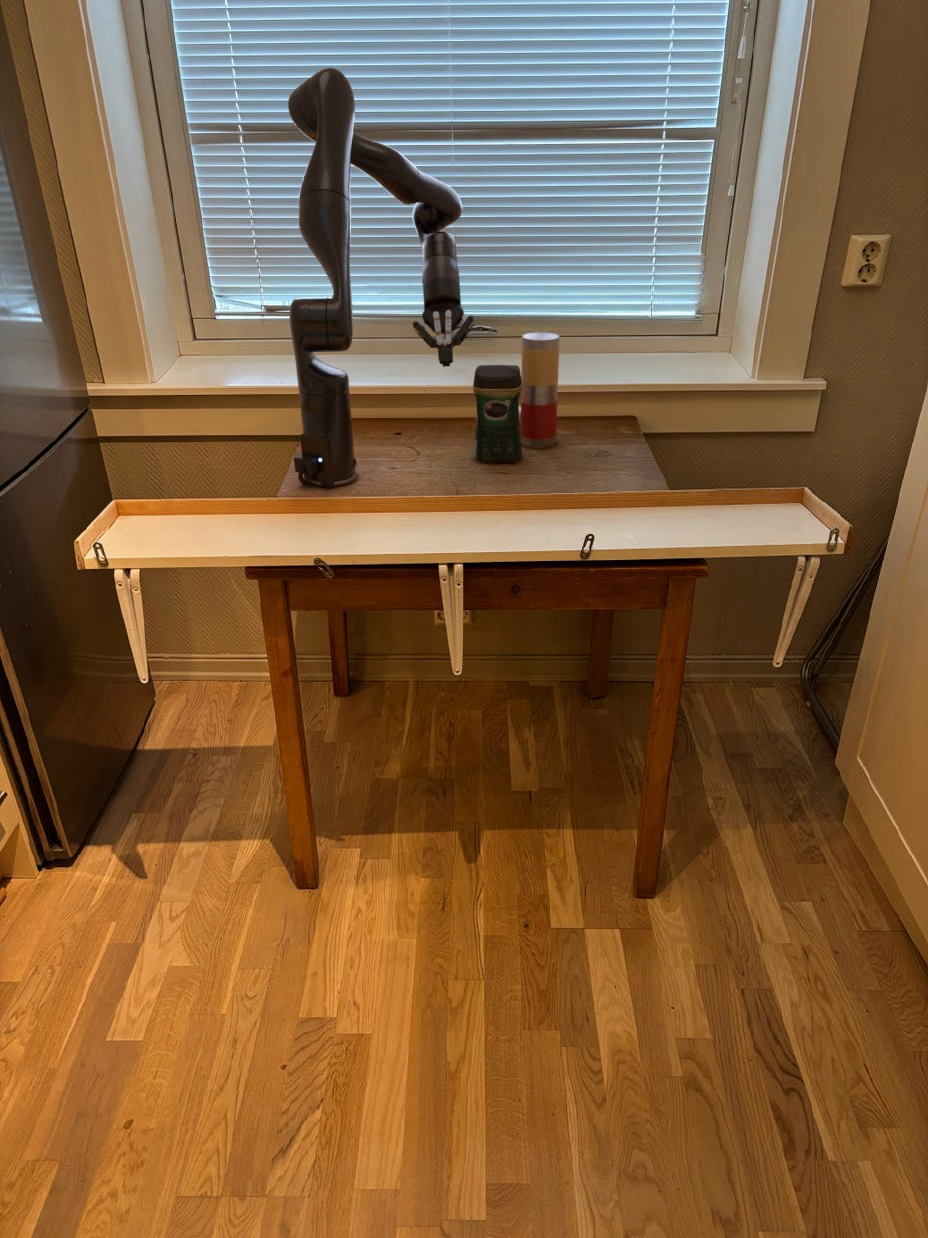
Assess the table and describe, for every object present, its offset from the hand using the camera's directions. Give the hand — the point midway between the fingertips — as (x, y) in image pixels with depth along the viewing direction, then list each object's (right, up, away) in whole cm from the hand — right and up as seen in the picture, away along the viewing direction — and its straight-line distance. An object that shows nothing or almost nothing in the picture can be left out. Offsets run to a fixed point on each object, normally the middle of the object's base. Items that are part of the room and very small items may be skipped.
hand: (446, 364), depth 183 cm
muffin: (+14, -9, +20) cm, 25 cm away
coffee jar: (+10, -19, +2) cm, 21 cm away
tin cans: (+19, -14, +10) cm, 26 cm away
